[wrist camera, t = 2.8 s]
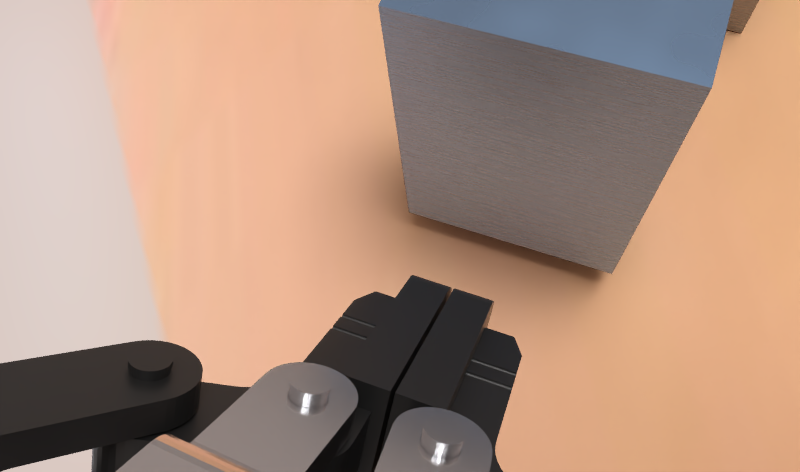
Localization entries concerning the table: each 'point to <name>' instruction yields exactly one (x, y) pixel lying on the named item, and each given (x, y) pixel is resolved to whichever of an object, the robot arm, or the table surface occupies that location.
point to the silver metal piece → (547, 112)
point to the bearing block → (740, 14)
